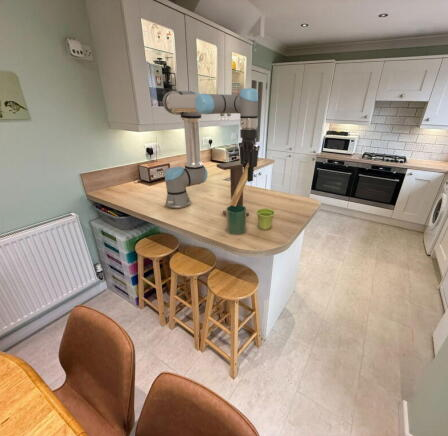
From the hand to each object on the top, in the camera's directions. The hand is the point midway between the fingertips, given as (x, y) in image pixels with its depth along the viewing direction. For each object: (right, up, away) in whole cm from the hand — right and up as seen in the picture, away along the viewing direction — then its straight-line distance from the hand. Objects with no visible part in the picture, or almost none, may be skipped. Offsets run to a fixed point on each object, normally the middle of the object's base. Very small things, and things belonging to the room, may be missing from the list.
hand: (248, 180), depth 113 cm
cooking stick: (-4, -2, -2) cm, 5 cm away
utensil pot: (-6, -24, +7) cm, 26 cm away
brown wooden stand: (-9, -17, +23) cm, 30 cm away
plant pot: (+9, -23, +10) cm, 27 cm away
